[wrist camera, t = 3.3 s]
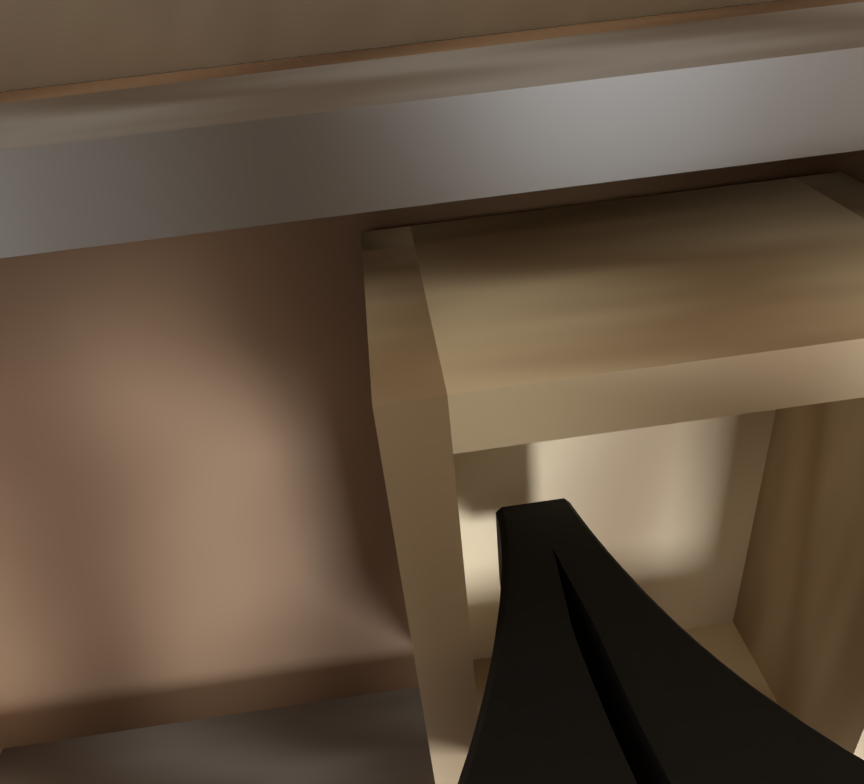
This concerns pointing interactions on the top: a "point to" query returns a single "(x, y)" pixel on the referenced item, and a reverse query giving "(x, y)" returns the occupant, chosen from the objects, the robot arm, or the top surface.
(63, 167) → the crate bay
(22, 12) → the top surface
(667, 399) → the crate
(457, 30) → the top surface
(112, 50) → the top surface
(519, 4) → the top surface
